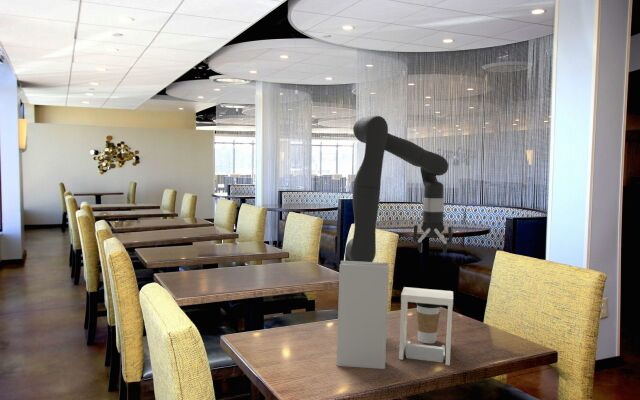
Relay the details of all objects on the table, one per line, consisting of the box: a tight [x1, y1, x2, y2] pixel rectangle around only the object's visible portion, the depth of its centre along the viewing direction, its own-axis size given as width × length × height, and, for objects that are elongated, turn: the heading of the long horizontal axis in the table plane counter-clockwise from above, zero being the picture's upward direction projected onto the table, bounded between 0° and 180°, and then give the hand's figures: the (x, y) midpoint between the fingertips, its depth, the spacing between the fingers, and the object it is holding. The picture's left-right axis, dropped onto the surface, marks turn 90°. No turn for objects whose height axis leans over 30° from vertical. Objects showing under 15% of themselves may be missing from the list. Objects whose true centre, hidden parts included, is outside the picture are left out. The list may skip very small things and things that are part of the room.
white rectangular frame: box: [398, 286, 454, 366], centre depth 160 cm, size 15×13×20 cm
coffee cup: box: [415, 302, 442, 345], centre depth 173 cm, size 8×8×15 cm
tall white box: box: [336, 260, 390, 370], centre depth 151 cm, size 14×6×30 cm, turn 84°
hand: (432, 252), depth 193 cm, fingers open, 8 cm apart
